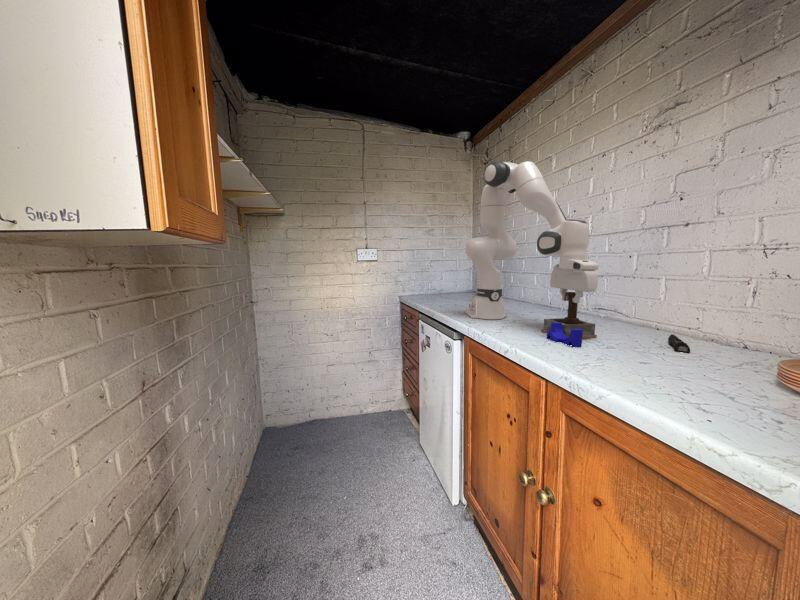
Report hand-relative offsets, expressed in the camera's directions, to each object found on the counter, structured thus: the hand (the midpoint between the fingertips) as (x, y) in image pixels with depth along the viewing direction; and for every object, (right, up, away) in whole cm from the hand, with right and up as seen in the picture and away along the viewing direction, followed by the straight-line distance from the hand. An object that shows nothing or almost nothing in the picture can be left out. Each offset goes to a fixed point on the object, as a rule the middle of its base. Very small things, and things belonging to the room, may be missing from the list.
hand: (570, 301), depth 114 cm
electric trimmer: (+27, -15, -14) cm, 34 cm away
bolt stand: (0, -13, +2) cm, 13 cm away
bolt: (0, -12, 0) cm, 12 cm away
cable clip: (-7, -14, -9) cm, 18 cm away
